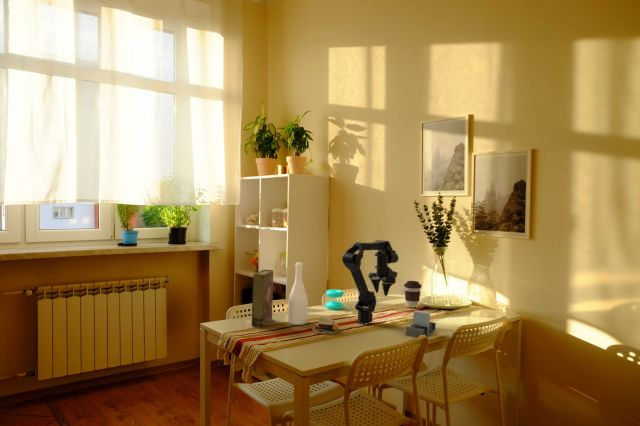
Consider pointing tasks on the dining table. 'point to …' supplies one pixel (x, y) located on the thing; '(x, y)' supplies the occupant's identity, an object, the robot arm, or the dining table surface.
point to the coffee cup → (412, 293)
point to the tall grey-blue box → (421, 318)
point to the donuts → (334, 304)
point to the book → (262, 297)
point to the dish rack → (420, 330)
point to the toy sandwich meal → (326, 326)
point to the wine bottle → (298, 299)
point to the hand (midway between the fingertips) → (381, 294)
